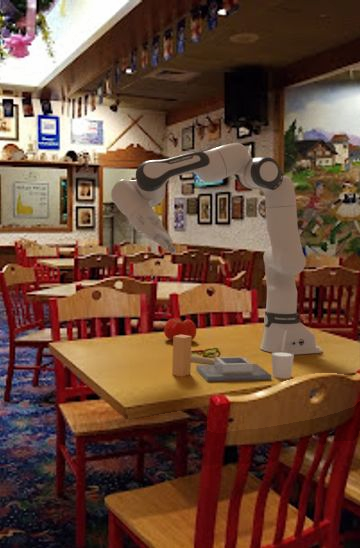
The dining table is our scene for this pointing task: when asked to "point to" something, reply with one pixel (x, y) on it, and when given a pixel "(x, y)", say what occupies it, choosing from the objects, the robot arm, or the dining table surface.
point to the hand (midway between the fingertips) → (170, 250)
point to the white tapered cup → (282, 364)
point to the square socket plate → (232, 370)
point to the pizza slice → (205, 356)
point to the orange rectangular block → (181, 355)
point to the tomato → (179, 328)
